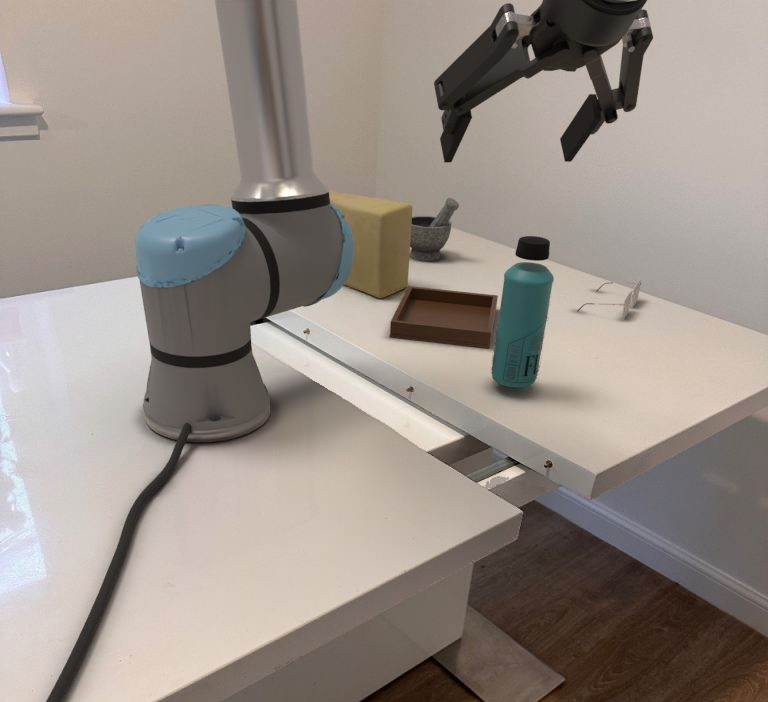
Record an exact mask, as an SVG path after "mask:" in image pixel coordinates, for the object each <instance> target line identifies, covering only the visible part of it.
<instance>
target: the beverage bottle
mask: <svg viewBox="0 0 768 702" xmlns="http://www.w3.org/2000/svg"><path fill="white" fill-rule="evenodd" d="M550 247H551V241H550V240H549V239H547V238H545V237H543V236H536V235H526V236H521V237H519V238H518V242H517V246H516V249H515V257H517V258H519V259H521V260H526V261H521V262H516V263H515V264H513V265H511V266H510V267H509V268H508V269H506V270H505V272H504V274H503V286H502V293H501V300H500V307H499V308H500V309H499V315H498V320H497V322H496V323H497V325H496V331H495V337H494V343H493V344H494V347H493V349H492V350H493V354H492V356H491V358H492V360H491V365H490V371H491V377H492V379H493V381H494V382H496V383H498V384H500V385H502V386H505V387H511V388H526V387H530V386H532V385H534V384H535V383H536V380H537V379H538V376H539V371H540V368H541V365H540V363H542V360H541V358H543V357H542V356H543V355H542V352H543V346H544V339H545V332H546V326H547V322H548V321H549V309H550V303H551V301H550V300H551V296H552V290H553V283H554V280H555V278H554V275H553V273H552V272H551V270H550V269H548V267H547V266H546V265H543V264H541V263H536V262H535V261H537V262H539V261H540V262H541V261H546V260H548V259H550V258H549V257H550V249H551V248H550ZM529 261H534V262H529Z"/></svg>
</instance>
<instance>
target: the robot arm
mask: <svg viewBox="0 0 768 702" xmlns="http://www.w3.org/2000/svg"><path fill="white" fill-rule="evenodd" d="M647 2H648V0H542V1H541V4H540V5H539V6H538V7H537V8H536V9H535V10H534V11H532V12H531V14H530V15H527V14H520V13H516V12H515V11H516V10H515V6H514V4H513V3H511V2H510V3H509V2H508V3H504V4H503V5H502V6H501V7H500V8H499V9H498V11H497V13H496V15H495V16H494V19H493V20H492V21H491V24H490V25H489V26H488V27H487V28H486V29H485V30H484V31H483V32H482V33H481V34H480V35H479V36H478V37H477V38H476V39H475V40H474V41H473V42H472V43H471V44H470V45H469V46H468V47H467V48H466V49H465V50H464V51H463V52H462V53H461V54H460V55H458V57H457V58H456V59H455V60H454V61H453V62H452V63H451V64H450V65H448V67H447V68H446V69H445V70H444V71H443V72H442V73H441V74H440V75H439V76H438V77H437V78H435V80H434V81H433V87H434V91H435V97H436V103H437V108H438V110H440V111H442V115H441V117H440V120H441V124H442V125H441V126H442V133H441V135H440V137H439V141H440V146H441V147H440V148H441V151H442V157H443V163H452V162H453V160H454V158H455V156H456V153H457V152H458V149H459V148H460V145H461V144H462V140H463V138H464V136H465V134H466V131H467V129H468V128H469V125H470V123H471V121H472V119H473V115H472V111H471V110H473V109H474V108H476V107H478V106H479V105H481V104H482V103H485V102H486V101H487V100H489V99H491V98H492V97H494V96H495V95H497V94H499V93H500V92H501V91H503V90H505V89H506V88H508V87H510V86H511V85H513V84H514V83H516V82H517V81H519V80H521V79H522V78H525V79H528V80H529V79H532V78H533V77H534V76H535V75H537V74H539V73H541V72H542V71H543V72H554V71H559V70H560V71H561V70H562V71H564V72H573V73H575V72H576V71H577V69H581V68H583V67H586V70H587V74H588V76H589V78H590V80H591V83H592V86H593V89H594V91H595V93H589V94H588V95H587V96H586V98H585V100H584V101H583V103H582V105H581V106H580V108H579V109H578V111H577V112H576V114H575V115H574V117H572V120H571V122H570V123H569V125H568V126H567V128H565V131H564V132H563V134H562V135H561V137H560V138H559V141H560V146H561V150H562V154H563V159H564V163H565V162H566V163H567V162H569V163H570V162H572V161H573V160H574V159H575V157H576V156H577V154H578V153H579V152H580V150H581V149H582V147H583V146H584V145H585V143H586V141H587V140H588V139H589V137H590V136H591V135H595V134H596V133H598V132H599V130H600V129H601V127H602V126H603V124H604V123H605V124H609V125H610V124H613V123H616V121H617V120H618V119H619V115H618V111H619V110H623V112H624V113H629V112H633V110H635V109H636V107H637V102H638V95H639V90H640V89H639V88H640V83H641V77H642V76H641V75H642V69H643V61H644V55H645V54H646V52H647V50H648V48H649V46H650V45H651V43H652V41H653V39H654V34H653V30H652V25H651V22H650V21H651V20H650V17H649V14H648V10H647V9H643V8H644V7H645V5H646V3H647ZM214 4H215V11H216V18H217V24H218V25H217V26H218V31H219V39H220V45H221V46H220V47H221V52H222V59H223V65H224V72H225V79H226V80H225V81H226V85H227V93H228V99H229V106H230V113H231V119H232V127H233V134H234V140H235V146H236V153H237V159H238V166H239V175H240V180H239V183H238V185H237V186H236V187H235V188H234V191H232V194H231V195H230V201H231V202H230V203H231V207H229V206H226V205H220V204H200V205H197V206H192V205H187V206H181V207H176V208H173V209H169V210H166V211H162V212H160V213H158V214H155V215H154V216H151V217H149V219H147V220H145V222H144V223H142V224H141V226H140V228H139V229H138V231H137V233H136V235H135V241H134V243H135V260H136V264H135V272H136V275H137V278H138V280H139V285H140V293H141V299H142V304H143V311H144V318H145V324H146V331H147V337H148V341H149V350H150V356H151V357H150V358H151V361H150V365H149V370H148V375H147V381H146V388H145V392H144V397H143V404H142V408H143V413H144V419H145V422H146V424H147V426H148V427H149V428H150V429H151V430H152V431H154V432H155V433H157V434H158V435H161V436H163V437H165V438H169V439H171V440H176V442H175V445H174V447H173V449H172V452H171V455H170V457H169V459H168V461H167V462H166V464H165V466H164V467H163V468H162V470H161V471H160V472H159V473H158V474H157V475H156V477H155V478H154V479H153V480H152V481H150V483H149V484H148V485H147V486H146V487H145V488H144V489H143V490H142V491H141V492H140V493H139V495H138V496H137V497H136V499H135V500H134V502H133V504H132V505H131V508H130V509H129V511H128V513H127V516H126V518H125V521H124V524H123V527H122V530H121V533H120V536H119V539H118V541H117V542H118V543H117V546H116V548H115V550H114V553H113V556H112V558H111V561H110V563H109V565H108V568H107V571H106V573H105V576H104V578H103V580H102V583H101V586H100V588H99V590H98V593H97V595H96V597H95V599H94V602H93V604H92V605H91V606H92V607H91V609H90V611H89V612H88V613H89V614H88V616H87V618H86V620H85V622H84V624H83V627H82V629H81V631H80V633H79V636H78V637H77V639H76V642H75V643H74V646H73V648H72V649H71V652H70V654H69V656H68V658H67V661H66V663H65V664H64V666H63V667H62V670H61V672H60V674H59V676H58V678H57V680H56V681H55V683H54V686H53V688H52V689H51V691H50V693H49V695H48V696H47V699H46V701H45V702H62V700H63V699H64V697H65V694H66V693H67V690H69V687H70V685H71V683H72V681H73V678H74V677H75V675H76V673H77V670H78V668H79V666H80V664H81V663H82V660H83V658H84V655H85V653H86V651H87V649H88V647H89V644H90V642H91V640H92V638H93V635H94V634H95V631H96V628H97V626H98V624H99V622H100V619H101V617H102V615H103V613H104V610H105V607H106V605H107V603H108V599H109V598H110V595H111V593H112V590H113V588H114V585H115V583H116V579H117V577H118V574H119V571H120V569H121V566H122V565H123V564H122V563H123V561H124V558H125V556H126V553H127V551H128V548H129V544H130V541H131V538H132V535H133V531H134V528H135V524H136V522H137V520H138V517H139V515H140V513H141V511H142V509H143V508H144V506H145V505H146V503H147V502H148V500H149V499H150V498H151V497H152V496H153V495H154V493H155V492H156V491H158V489H159V488H160V487H162V485H163V484H164V483H165V482H166V481H167V480H168V478H169V477H170V476H171V474H172V473H173V471H174V470H175V468H176V467H177V464H178V462H179V460H180V457H181V455H182V453H183V450H184V448H185V445H186V442H188V443H214V442H222V441H228V440H232V439H236V438H240V437H242V436H245V435H247V434H250V433H252V432H254V431H256V430H257V429H259V428H260V427H262V426H263V425H264V424H265V423H266V422H267V421H268V419H269V418H270V415H271V397H270V394H269V390H268V388H267V386H266V384H265V382H264V380H263V377H262V375H261V372H260V368H259V366H258V364H257V362H256V359H255V356H254V353H253V347H252V332H251V331H252V330H251V329H252V328H251V323H252V322H255V321H258V320H261V319H265V318H268V317H272V316H275V315H278V314H281V313H285V312H288V311H291V310H294V309H298V308H302V307H303V308H304V307H306V308H307V307H310V306H313V305H316V304H318V303H320V302H321V301H322V300H324V299H328V298H330V297H332V296H334V295H335V294H336V293H338V292H339V291H340V290H341V289H342V287H343V286H344V285H343V284H344V283H345V282H346V281H347V279H348V277H349V274H350V272H351V268H352V264H353V258H354V241H353V235H352V231H351V228H350V225H349V223H348V222H346V221H344V214H343V213H342V211H341V210H340V209H339V208H338V207H337V206H335V205H333V204H332V203H330V197H329V191H330V187H328V186H327V185H326V183H324V182H323V181H322V180H321V179H320V178H319V177H318V176H317V174H316V173H315V166H314V165H315V164H314V157H313V147H312V146H313V145H312V135H311V127H310V118H309V107H308V99H307V96H308V95H307V88H306V86H307V85H306V78H305V68H304V66H305V65H304V58H303V48H302V37H301V27H300V18H299V9H298V0H214ZM620 41H621V42H622V50H621V60H620V69H619V79H618V86H617V88H613V89H612V86H611V83H610V79H609V76H608V72H607V70H606V66H605V64H604V61H603V57H602V55H603V54H604V53H606V52H607V51H609V50H611V49H612V48H614V47H615V46H616V45H618V44H620ZM530 46H531V48H532V52H533V55H534V58H533V59H532V60H531V59H530V58H531V57H530V54H529V50H528V49H529V47H530Z"/></svg>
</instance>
